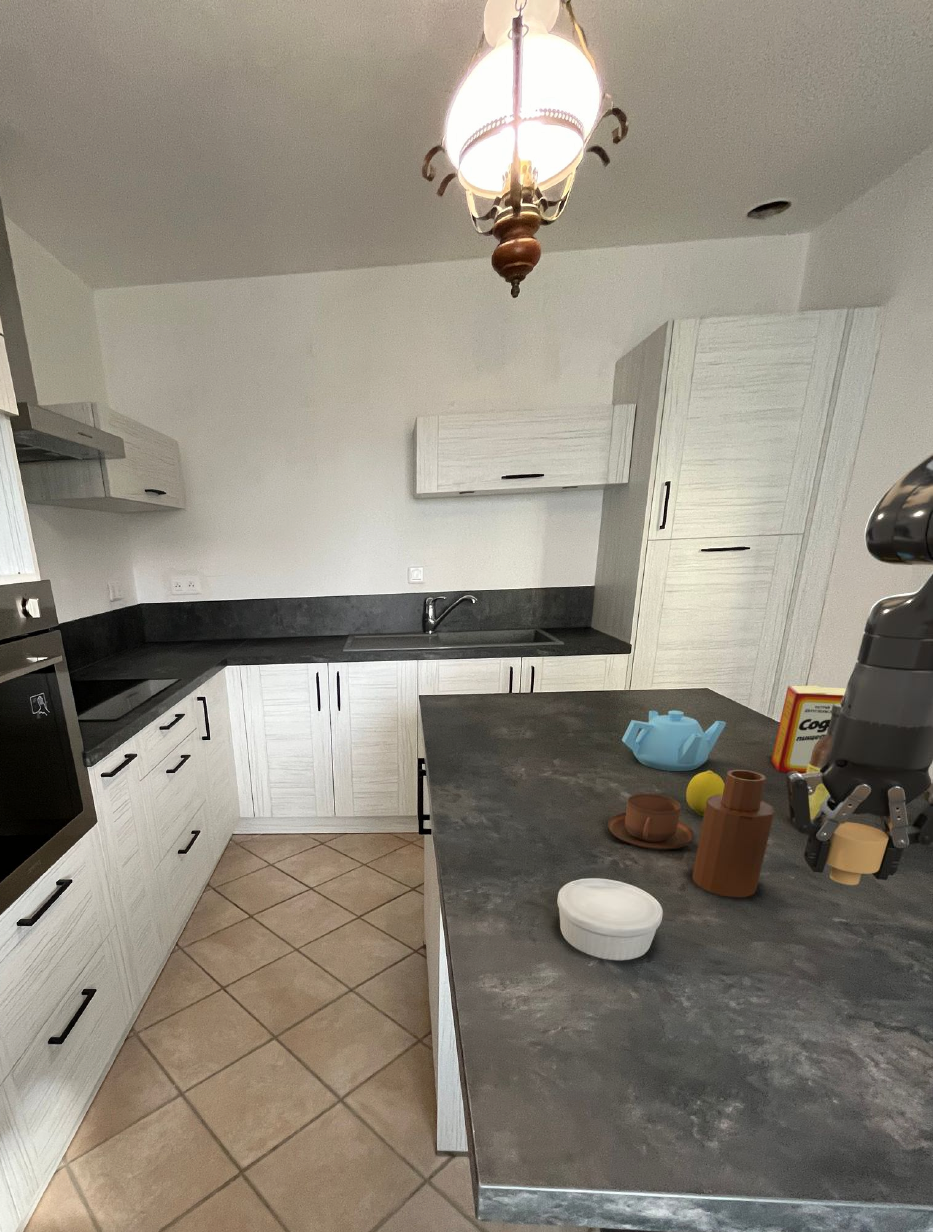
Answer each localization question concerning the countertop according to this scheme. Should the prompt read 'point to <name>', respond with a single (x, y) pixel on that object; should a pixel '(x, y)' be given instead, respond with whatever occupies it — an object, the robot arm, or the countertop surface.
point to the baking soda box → (803, 725)
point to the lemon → (703, 790)
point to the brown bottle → (734, 836)
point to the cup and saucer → (651, 823)
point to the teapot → (671, 741)
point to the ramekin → (608, 918)
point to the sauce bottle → (822, 761)
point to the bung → (855, 852)
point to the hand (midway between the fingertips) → (846, 871)
